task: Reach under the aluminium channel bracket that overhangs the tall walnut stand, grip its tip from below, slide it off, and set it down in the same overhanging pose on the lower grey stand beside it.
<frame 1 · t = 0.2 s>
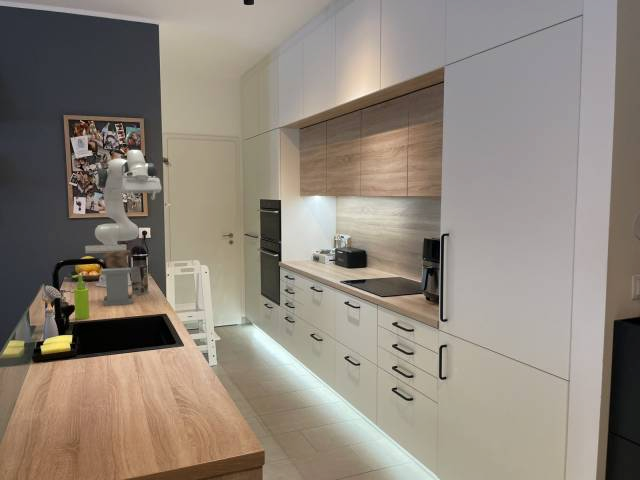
hand: (144, 199, 264), 54 cm above the counter, tool tilted 30°, fingers open, 8 cm apart
alu channel: (106, 252, 267), point 26 cm above the counter, touching walnut stand
coffee box: (140, 294, 287), on the counter
soap dispenser: (81, 318, 230), on the counter
grey stand: (117, 303, 261), on the counter
walnut stand: (118, 299, 271), on the counter
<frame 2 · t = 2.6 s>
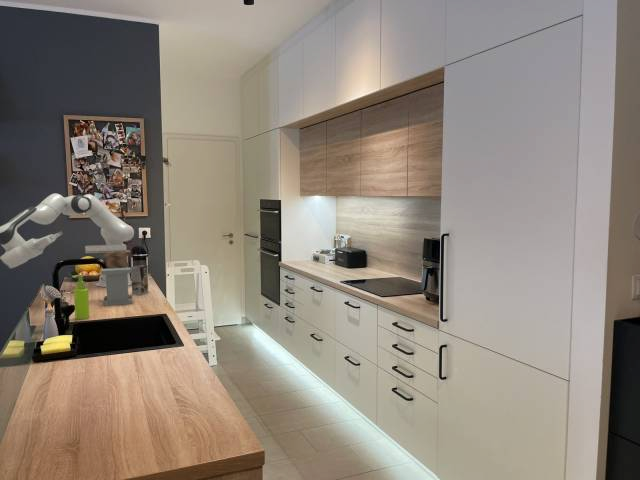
hand: (60, 233, 258), 37 cm above the counter, tool pointing upward, fingers open, 8 cm apart
nothing on the counter moved.
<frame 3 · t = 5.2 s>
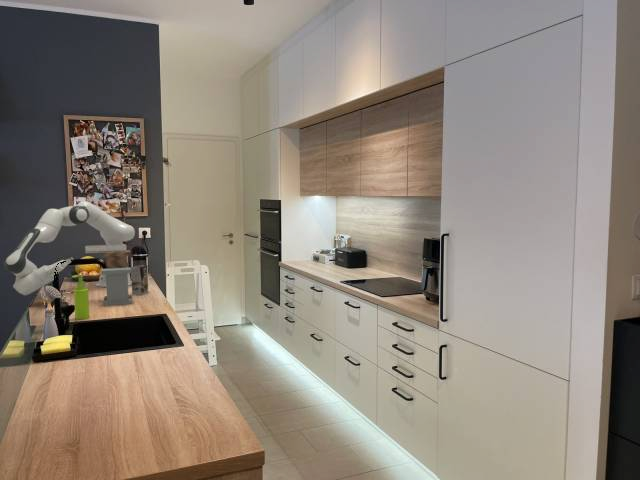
hand: (71, 259, 262), 23 cm above the counter, tool pointing upward, fingers open, 8 cm apart
nothing on the counter moved.
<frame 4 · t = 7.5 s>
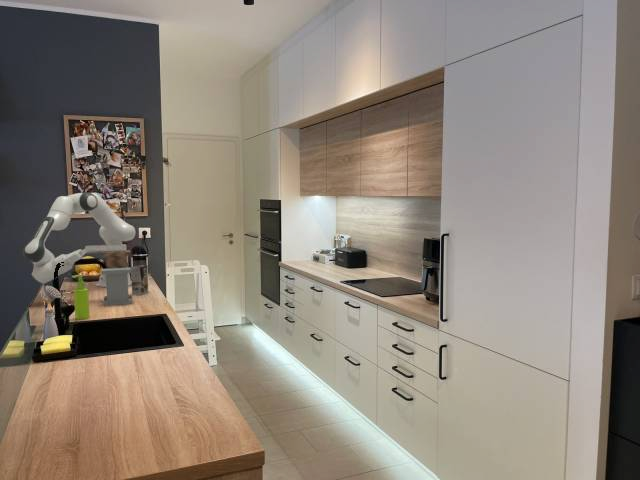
hand: (89, 248, 264), 28 cm above the counter, tool pointing upward, fingers closed on alu channel, 4 cm apart
alu channel: (106, 252, 267), point 26 cm above the counter, touching gripper, walnut stand
everything else where it was.
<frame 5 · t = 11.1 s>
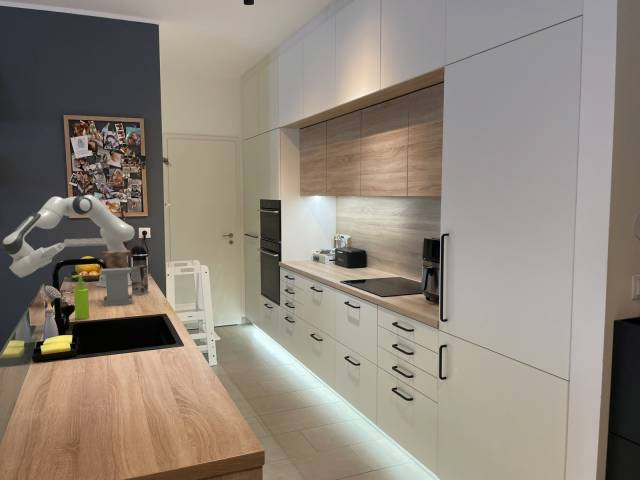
hand: (68, 242, 260), 32 cm above the counter, tool pointing upward, fingers closed on alu channel, 4 cm apart
alu channel: (86, 245, 263), point 30 cm above the counter, touching gripper
everything else where it was.
when the fingers open (22 cm above the counter, at t = 14.9 s): alu channel drops 1 cm, resting on grey stand.
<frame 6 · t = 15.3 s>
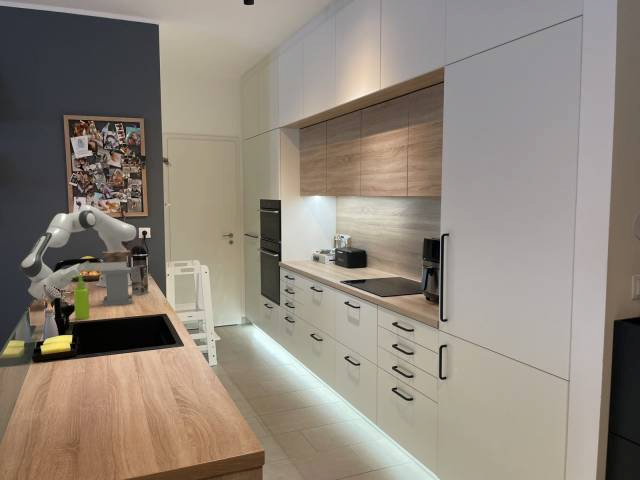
hand: (88, 263, 254), 22 cm above the counter, tool pointing upward, fingers open, 8 cm apart
alu channel: (105, 269, 258), point 18 cm above the counter, touching grey stand
everything else where it was.
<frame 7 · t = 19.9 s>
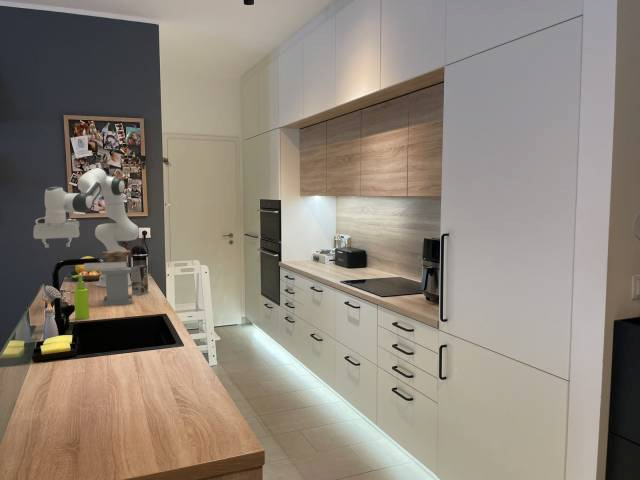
hand: (57, 247, 249), 30 cm above the counter, tool pointing down, fingers open, 8 cm apart
nothing on the counter moved.
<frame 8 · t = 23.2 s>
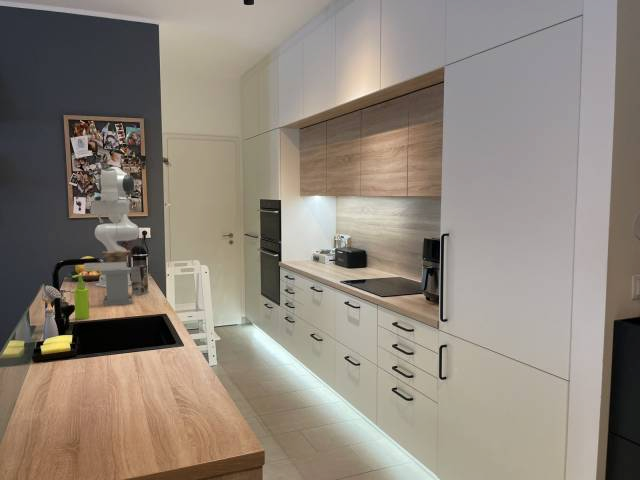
hand: (110, 222, 278), 41 cm above the counter, tool pointing down, fingers open, 8 cm apart
nothing on the counter moved.
at the end: alu channel inside the target area on the grey stand (0.1 cm from its centre), point 18.0 cm above the grey stand's base; the gripper is holding nothing; alu channel tilted 0° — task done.
